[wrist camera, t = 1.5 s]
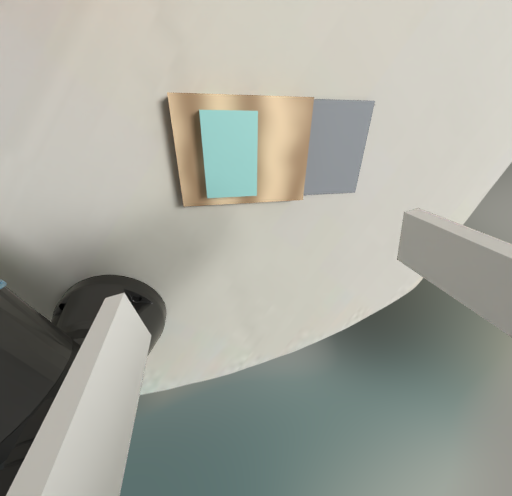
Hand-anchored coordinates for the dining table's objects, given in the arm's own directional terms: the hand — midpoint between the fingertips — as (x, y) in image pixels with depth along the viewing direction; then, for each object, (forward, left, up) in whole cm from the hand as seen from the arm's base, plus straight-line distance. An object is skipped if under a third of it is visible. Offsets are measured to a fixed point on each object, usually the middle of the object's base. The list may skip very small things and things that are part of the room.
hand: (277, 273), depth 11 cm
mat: (+15, +3, -23) cm, 28 cm away
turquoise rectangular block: (0, +3, -21) cm, 21 cm away
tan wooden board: (+2, +3, -23) cm, 24 cm away
